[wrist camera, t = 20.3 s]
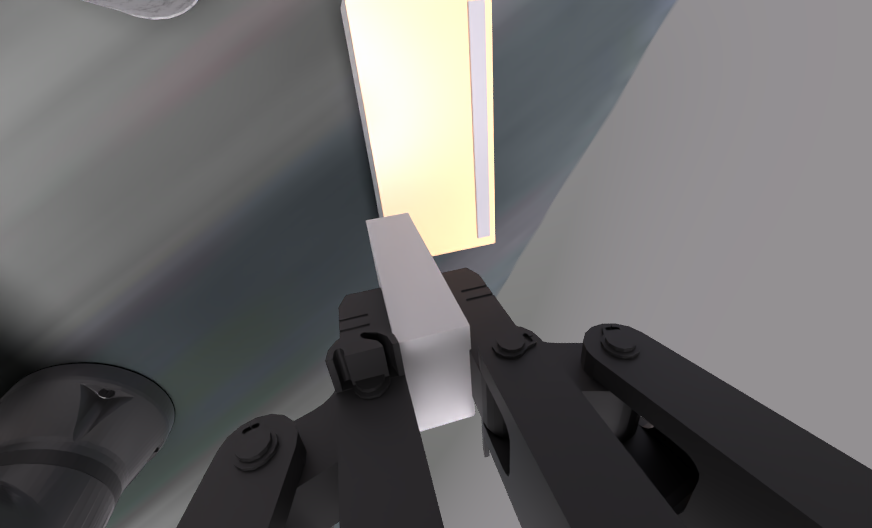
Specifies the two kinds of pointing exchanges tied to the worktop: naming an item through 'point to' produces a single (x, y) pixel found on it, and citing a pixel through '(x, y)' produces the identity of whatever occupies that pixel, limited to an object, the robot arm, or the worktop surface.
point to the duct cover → (430, 113)
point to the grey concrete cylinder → (148, 7)
